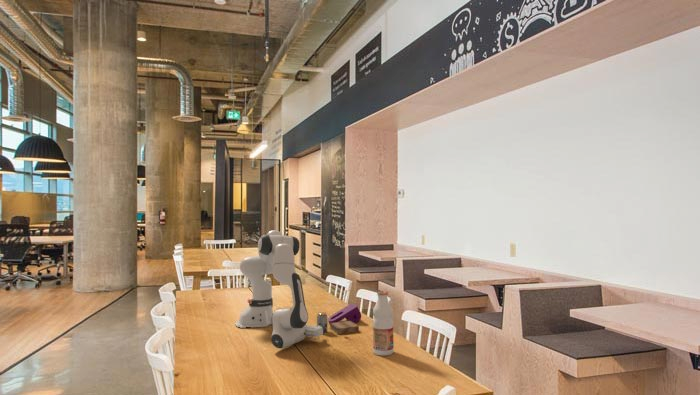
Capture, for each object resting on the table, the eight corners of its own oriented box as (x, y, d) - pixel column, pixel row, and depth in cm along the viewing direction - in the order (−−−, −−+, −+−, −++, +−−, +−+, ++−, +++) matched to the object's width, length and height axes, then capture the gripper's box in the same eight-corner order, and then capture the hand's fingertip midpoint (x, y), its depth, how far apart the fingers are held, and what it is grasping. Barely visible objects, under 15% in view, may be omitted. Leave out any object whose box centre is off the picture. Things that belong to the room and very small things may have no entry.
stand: (337, 334, 239) (337, 328, 239) (330, 328, 250) (330, 323, 250) (358, 331, 243) (358, 326, 243) (350, 326, 254) (350, 320, 254)
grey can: (319, 333, 240) (318, 314, 240) (315, 331, 245) (315, 312, 246) (328, 332, 242) (328, 313, 243) (325, 329, 248) (325, 311, 248)
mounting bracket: (336, 335, 257) (363, 318, 263) (330, 322, 256) (357, 306, 262) (332, 331, 266) (357, 315, 272) (325, 318, 265) (351, 303, 271)
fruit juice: (370, 350, 212) (370, 290, 213) (389, 348, 214) (389, 289, 215) (376, 357, 203) (375, 294, 203) (396, 355, 205) (395, 293, 206)
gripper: (314, 329, 219) (329, 322, 231) (280, 323, 229) (296, 317, 241) (314, 342, 219) (329, 334, 231) (280, 336, 229) (296, 329, 241)
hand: (312, 325), depth 236 cm, fingers open, 8 cm apart
